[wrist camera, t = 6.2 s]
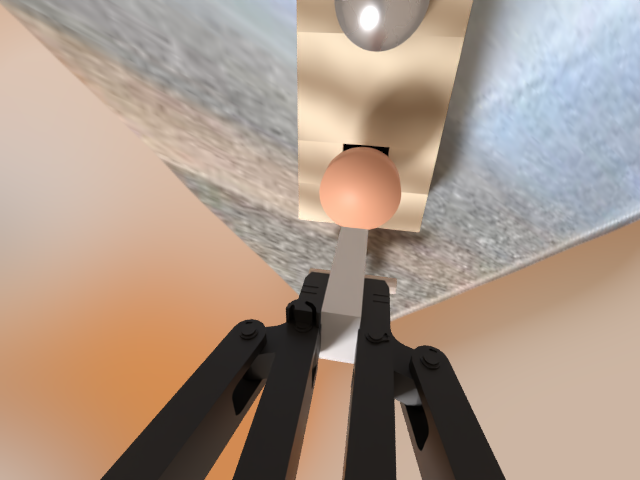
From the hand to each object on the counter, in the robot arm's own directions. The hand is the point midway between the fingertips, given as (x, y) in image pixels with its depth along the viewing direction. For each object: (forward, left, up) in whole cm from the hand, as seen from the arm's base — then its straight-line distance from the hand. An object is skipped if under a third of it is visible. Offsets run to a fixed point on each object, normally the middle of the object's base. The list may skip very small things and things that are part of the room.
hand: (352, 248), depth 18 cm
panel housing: (-6, 0, -19) cm, 20 cm away
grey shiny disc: (-12, 0, -18) cm, 22 cm away
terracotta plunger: (0, 0, -14) cm, 14 cm away
